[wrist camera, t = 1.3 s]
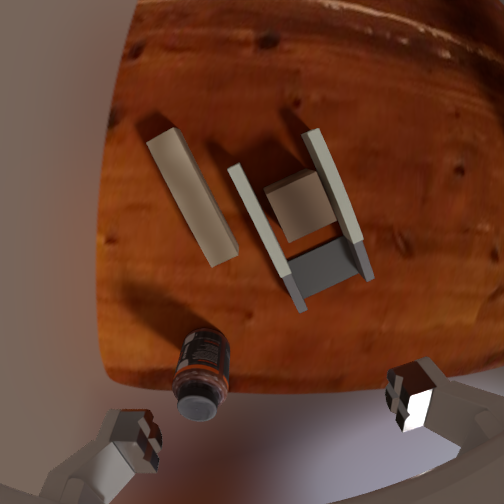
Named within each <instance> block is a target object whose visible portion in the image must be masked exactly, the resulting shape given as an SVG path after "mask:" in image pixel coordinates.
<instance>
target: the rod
mask: <svg viewBox="0 0 504 504" xmlns="http://www.w3.org/2000/svg"><path fill="white" fill-rule="evenodd" d="M146 144H147V146H148V148H149V150H150V152H151V154H152V156H153V158H154V160H155V162H156V164H157V165H158V167H159V169H160V171H161V173H162V175H163V177H164V179H165V181H166V183H167V185H168V187H169V189H170V191H171V193H172V195H173V197H174V199H175V200H176V202H177V204H178V206H179V208H180V210H181V212H182V214H183V216H184V218H185V219H186V221H187V223H188V225H189V227H190V229H191V231H192V232H193V234H194V236H195V238H196V240H197V242H198V244H199V245H200V247H201V249H202V251H203V253H204V255H205V256H206V258H207V260H208V262H209V264H210V266H211V267H214V266H216V265H218V264H220V263H222V262H224V261H227V260H229V259H231V258H233V257H235V256H237V255H238V250H239V245H238V243H237V241H236V239H235V237H234V235H233V234H232V232H231V230H230V228H229V226H228V224H227V222H226V220H225V218H224V216H223V214H222V212H221V210H220V208H219V206H218V204H217V202H216V200H215V198H214V196H213V194H212V192H211V190H210V188H209V186H208V184H207V183H206V181H205V179H204V177H203V175H202V173H201V171H200V169H199V167H198V165H197V163H196V161H195V159H194V157H193V155H192V153H191V151H190V149H189V147H188V145H187V143H186V141H185V139H184V137H183V135H182V133H181V131H180V129H177V128H171V129H170V130H168V131H166V132H164V133H162V134H161V135H159V136H157V137H155V138H154V139H152V140H150V141H148V142H147V143H146Z"/></svg>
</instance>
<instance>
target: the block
mask: <svg viewBox="0 0 504 504" xmlns="http://www.w3.org/2000/svg"><path fill="white" fill-rule="evenodd" d="M263 189H264V192H265V194H266V196H267V198H268V200H269V202H270V204H271V206H272V208H273V210H274V213H275V215H276V217H277V219H278V221H279V223H280V225H281V228H282V230H283V232H284V234H285V236H286V238H287V240H288V242H289V243H290V242H292V241H294V240H296V239H298V238H301V237H303V236H305V235H307V234H309V233H311V232H313V231H316V230H318V229H320V228H322V227H324V226H326V225H328V224H331V223H333V222H335V221H337V220H336V217H335V215H334V212H333V210H332V207H331V205H330V203H329V200H328V198H327V195H326V193H325V191H324V188H323V186H322V184H321V181H320V179H319V177H318V174H317V172H316V171H313V170H310V169H303V170H301V171H299V172H297V173H295V174H292V175H290V176H288V177H286V178H284V179H281V180H279V181H277V182H275V183H273V184H271V185H268V186H266V187H264V188H263Z"/></svg>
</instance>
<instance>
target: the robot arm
mask: <svg viewBox="0 0 504 504" xmlns="http://www.w3.org/2000/svg"><path fill="white" fill-rule="evenodd" d="M387 379H388V381H389V384H388V385H387V386H386V390H385V396H386V402H387V405H388V407H389V409H390V411H391V412H393V413H395V414H396V422H397V424H398V426H399V427H400V429H401V431H402V432H406V431H409V430H412V429H415V428H417V427H420V426H423V425H424V427H426V428H428V429H430V430H431V431H433V432H435V433H437V434H438V435H441V436H442V437H444V438H446V439H447V440H449V441H451V442H453V443H455V444H457V445H458V446H460V447H461V449H460V451H459V453H458V455H457V457H456V458H454V459H452V460H450V461H448V462H446V463H444V464H442V465H440V466H437V467H435V468H433V469H431V470H428V471H426V472H424V473H421V474H419V475H416V476H414V477H411V478H409V479H406V480H404V481H401V482H398V483H396V484H393V485H390V486H387V487H384V488H381V489H378V490H375V491H372V492H369V493H366V494H362V495H359V496H356V497H352V498H348V499H344V500H341V501H337V502H332V503H329V504H504V397H503V396H500V395H497V394H494V393H490V392H487V391H484V390H481V389H478V388H475V387H471V386H468V385H465V384H462V383H459V382H456V381H451V382H450V381H449V380H448V379H447V377H446V376H445V375H444V374H443V373H442V372H441V370H440V369H439V368H438V367H437V366H436V365H435V364H434V362H433V361H432V360H431V359H430V358H429V357H427V356H426V357H423V358H421V359H418V360H415V361H412V362H409V363H406V364H403V365H400V366H397V367H394V368H391V369H389V370H388V372H387ZM153 418H154V416H153V414H152V413H151V411H150V410H148V409H110V410H109V411H107V413H106V416H105V418H104V421H103V423H102V425H101V428H100V430H99V433H98V435H97V438H96V440H95V441H94V440H93V441H91V442H89V443H88V444H87V445H85V446H84V447H83V448H81V449H80V450H79V451H77V452H76V453H75V454H73V455H72V456H70V457H69V458H68V459H67V460H65V461H64V462H63V463H61V464H60V465H58V466H57V467H55V468H54V469H53V470H52V471H50V472H49V474H48V476H47V478H46V480H45V483H44V485H43V487H42V489H41V492H40V494H39V496H35V495H32V494H29V493H26V492H23V491H20V490H17V489H14V488H11V487H9V486H6V485H3V484H0V504H109V502H110V501H111V500H112V499H113V498H114V497H115V496H116V495H117V494H118V492H120V490H121V489H122V488H123V487H124V486H125V485H126V484H127V483H128V481H129V480H130V479H131V478H132V477H133V476H134V475H135V473H157V470H158V465H159V457H158V455H157V453H158V452H159V451H160V450H161V449H162V434H161V430H160V428H159V426H158V425H157V424H156V423H154V422H153Z"/></svg>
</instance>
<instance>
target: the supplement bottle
mask: <svg viewBox="0 0 504 504" xmlns="http://www.w3.org/2000/svg"><path fill="white" fill-rule="evenodd" d="M229 363H230V345H229V342H228V340H227V339H226V338H225V337H224V335H222V334H221V333H220V332H218V331H216V330H213V329H208V328H200V329H196V330H194V331H192V332H191V333H189V334H188V335H187V336H186V338H185V340H184V343H183V346H182V350H181V353H180V357H179V361H178V364H177V368H176V372H175V375H174V380H173V384H172V389H173V393H174V395H175V397H176V398H177V400H178V403H177V408H178V411H179V412H180V414H181V415H183V416H184V417H185V418H187V419H190V420H193V421H207V420H210V419H212V418H213V417H214V416H215V415H216V413H217V407H218V406H220V405H221V404H222V403H223V402H224V401H225V399H226V397H227V393H228V384H229V383H228V382H229Z"/></svg>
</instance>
